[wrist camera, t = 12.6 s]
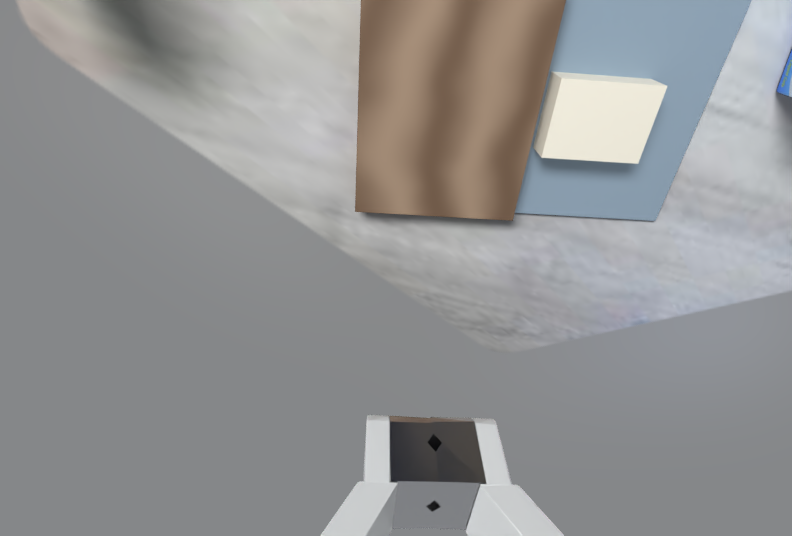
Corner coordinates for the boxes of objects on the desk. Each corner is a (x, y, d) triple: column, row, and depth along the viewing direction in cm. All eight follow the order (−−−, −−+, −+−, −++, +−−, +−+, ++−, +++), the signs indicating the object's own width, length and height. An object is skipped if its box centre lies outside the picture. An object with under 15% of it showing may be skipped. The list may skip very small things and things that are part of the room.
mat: (748, -2, 33) (751, -1, 33) (653, 218, 43) (655, 220, 43) (560, -18, 32) (562, -18, 32) (507, 210, 42) (508, 212, 42)
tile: (651, 78, 36) (667, 86, 34) (624, 153, 39) (638, 163, 37) (551, 71, 35) (561, 78, 33) (532, 147, 39) (541, 157, 37)
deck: (560, -18, 32) (570, -17, 31) (507, 210, 42) (512, 220, 41) (363, -36, 32) (361, -36, 30) (356, 201, 42) (355, 211, 40)
